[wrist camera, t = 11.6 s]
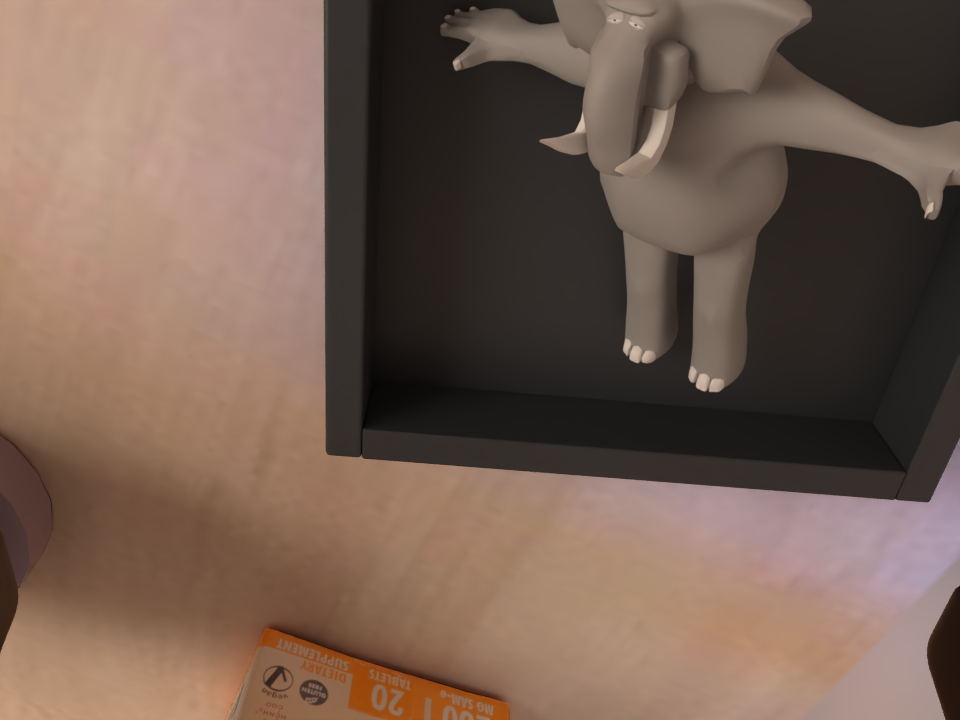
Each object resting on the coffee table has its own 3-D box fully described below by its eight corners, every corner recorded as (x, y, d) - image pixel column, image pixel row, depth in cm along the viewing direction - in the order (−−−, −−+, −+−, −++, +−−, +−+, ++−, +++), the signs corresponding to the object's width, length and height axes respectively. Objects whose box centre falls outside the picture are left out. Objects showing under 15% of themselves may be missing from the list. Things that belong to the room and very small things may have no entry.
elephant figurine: (426, 349, 19) (289, -31, 12) (574, 194, 22) (529, -197, 15) (852, 581, 14) (1022, 163, 7) (983, 348, 17) (1205, -133, 10)
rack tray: (343, 392, 21) (325, 456, 18) (349, -384, 13) (320, -435, 11) (883, 435, 21) (929, 503, 19) (1181, -288, 14) (1316, -318, 11)
